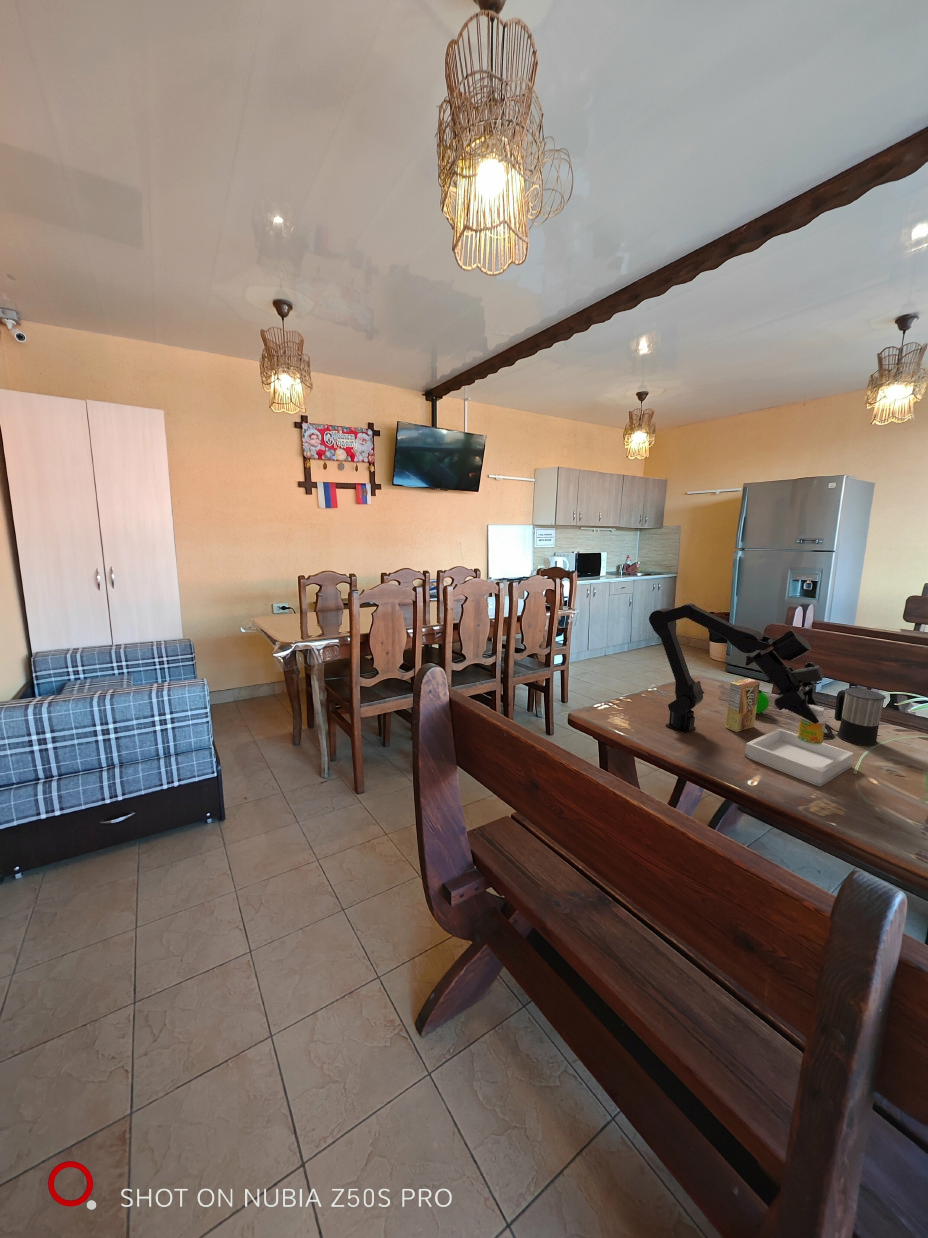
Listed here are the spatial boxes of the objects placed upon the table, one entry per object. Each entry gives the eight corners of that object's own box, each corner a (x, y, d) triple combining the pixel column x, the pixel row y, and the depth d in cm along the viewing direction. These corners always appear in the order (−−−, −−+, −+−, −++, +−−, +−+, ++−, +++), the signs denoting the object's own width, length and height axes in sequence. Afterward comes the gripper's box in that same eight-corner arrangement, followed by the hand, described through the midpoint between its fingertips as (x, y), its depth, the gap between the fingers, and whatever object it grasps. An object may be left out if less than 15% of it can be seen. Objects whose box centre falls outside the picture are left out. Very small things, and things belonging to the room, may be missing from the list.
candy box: (742, 722, 149) (747, 677, 146) (755, 727, 146) (760, 681, 143) (724, 727, 146) (729, 682, 143) (737, 733, 142) (742, 686, 139)
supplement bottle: (794, 741, 122) (799, 707, 120) (800, 735, 125) (805, 702, 123) (818, 748, 118) (824, 713, 116) (824, 742, 121) (830, 707, 119)
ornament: (747, 706, 162) (750, 679, 160) (772, 713, 156) (775, 686, 154) (735, 711, 158) (738, 684, 156) (760, 719, 151) (764, 690, 149)
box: (744, 756, 127) (746, 743, 126) (777, 740, 136) (779, 728, 135) (819, 787, 112) (822, 772, 111) (851, 767, 121) (853, 753, 120)
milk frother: (886, 745, 133) (894, 697, 130) (841, 751, 130) (849, 702, 127) (838, 725, 146) (844, 681, 144) (796, 729, 143) (803, 685, 141)
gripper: (796, 661, 113) (845, 716, 108) (810, 647, 126) (855, 695, 120) (755, 684, 120) (800, 736, 115) (773, 668, 133) (814, 714, 128)
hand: (819, 719), depth 119 cm, fingers closed on supplement bottle, 5 cm apart
